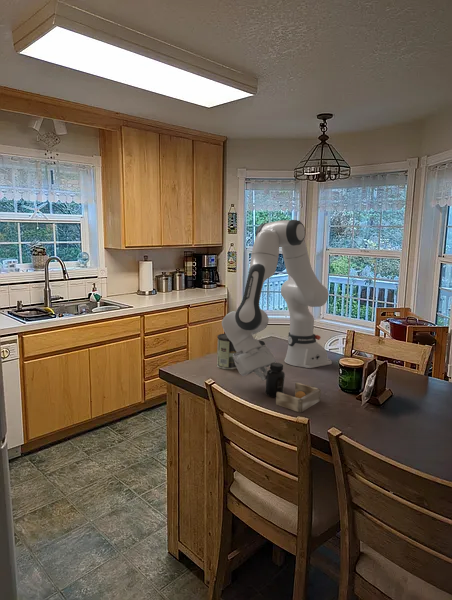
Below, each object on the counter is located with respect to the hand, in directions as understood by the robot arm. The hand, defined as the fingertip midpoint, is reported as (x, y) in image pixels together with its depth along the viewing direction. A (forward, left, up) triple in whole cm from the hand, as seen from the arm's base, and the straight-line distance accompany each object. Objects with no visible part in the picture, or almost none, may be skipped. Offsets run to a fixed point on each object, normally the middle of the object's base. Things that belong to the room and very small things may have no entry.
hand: (266, 379), depth 165 cm
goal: (-7, +12, -5) cm, 15 cm away
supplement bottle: (-2, +3, -6) cm, 6 cm away
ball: (-8, +12, -4) cm, 15 cm away
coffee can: (+3, -34, -6) cm, 35 cm away
